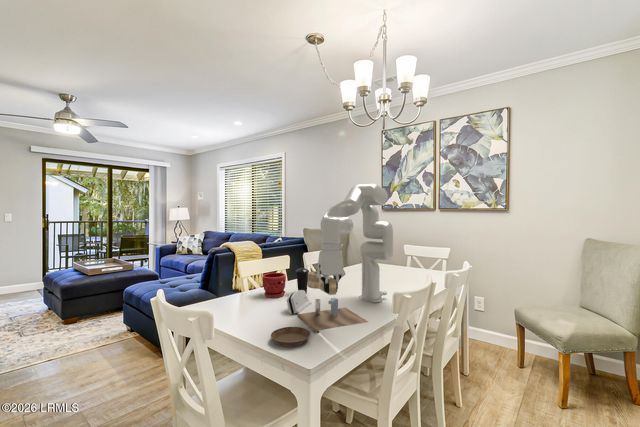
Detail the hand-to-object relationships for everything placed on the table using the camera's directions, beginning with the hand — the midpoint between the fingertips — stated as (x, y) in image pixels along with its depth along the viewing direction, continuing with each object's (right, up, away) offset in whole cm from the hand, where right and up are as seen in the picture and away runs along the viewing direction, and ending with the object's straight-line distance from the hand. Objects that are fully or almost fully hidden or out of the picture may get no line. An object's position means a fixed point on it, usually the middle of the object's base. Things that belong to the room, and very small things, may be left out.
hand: (330, 291), depth 127 cm
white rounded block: (-15, -15, +24) cm, 32 cm away
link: (-3, -1, +7) cm, 8 cm away
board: (+1, -15, +9) cm, 17 cm away
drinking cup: (-15, -15, +51) cm, 55 cm away
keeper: (+1, -15, +10) cm, 18 cm away
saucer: (-15, -15, -12) cm, 25 cm away
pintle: (-5, -15, +13) cm, 20 cm away
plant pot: (-30, -15, +47) cm, 58 cm away
